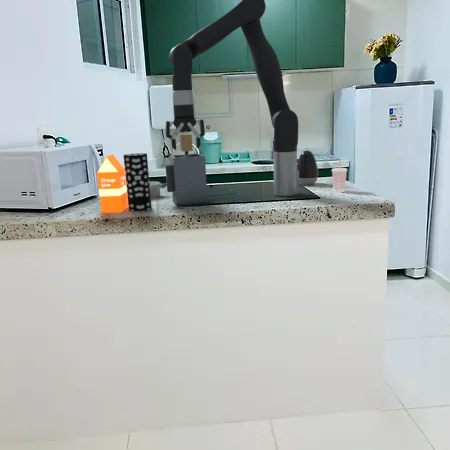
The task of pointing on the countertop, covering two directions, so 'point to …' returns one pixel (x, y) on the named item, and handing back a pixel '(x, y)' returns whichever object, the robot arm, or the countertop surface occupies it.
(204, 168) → the tall grey box
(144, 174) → the spotted tube
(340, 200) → the countertop surface
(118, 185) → the orange juice
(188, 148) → the plunger
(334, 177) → the beverage cup
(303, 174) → the dark grey egg shape
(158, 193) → the saucepan
